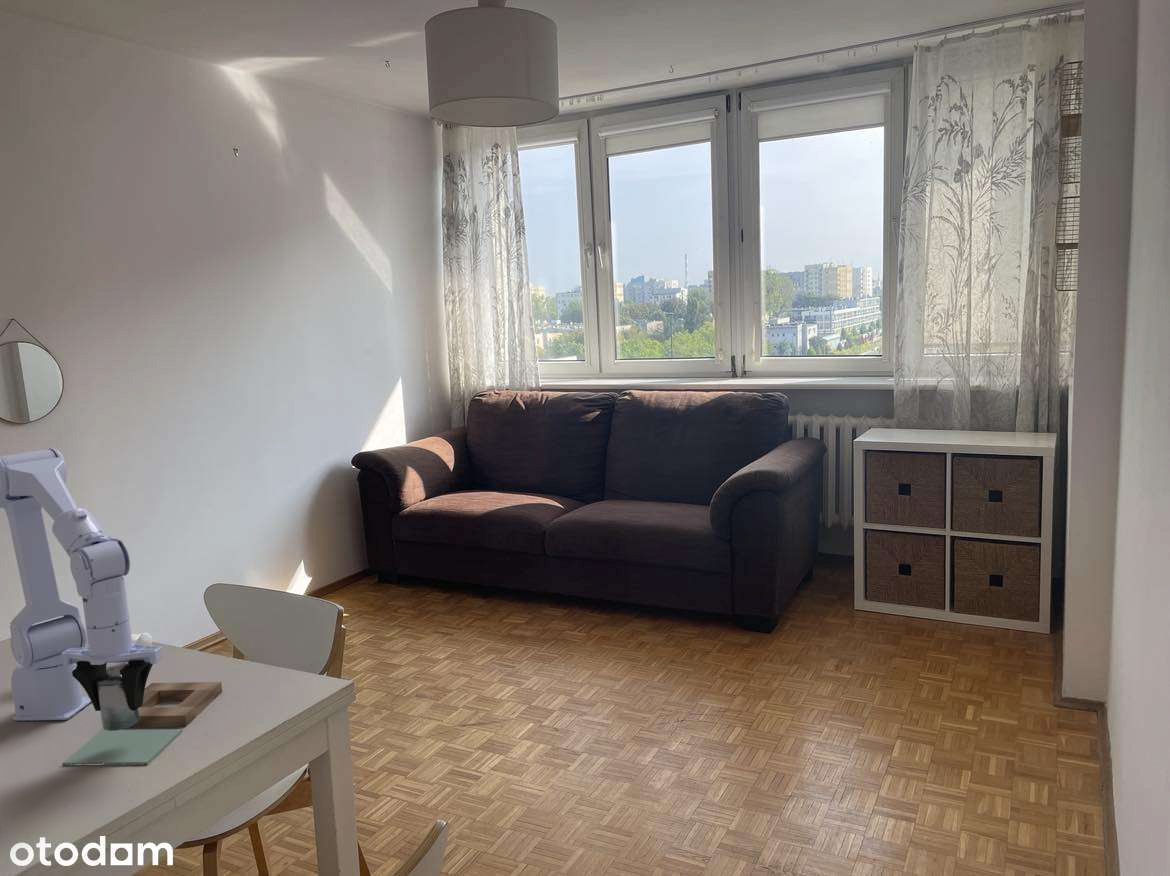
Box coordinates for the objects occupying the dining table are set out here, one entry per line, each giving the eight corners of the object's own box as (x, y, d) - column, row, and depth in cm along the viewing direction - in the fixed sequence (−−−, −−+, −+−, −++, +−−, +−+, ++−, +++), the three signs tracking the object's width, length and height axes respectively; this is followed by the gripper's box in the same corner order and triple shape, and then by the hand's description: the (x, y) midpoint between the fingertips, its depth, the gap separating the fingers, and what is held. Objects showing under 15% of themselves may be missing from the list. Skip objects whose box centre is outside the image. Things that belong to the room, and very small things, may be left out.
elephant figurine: (106, 669, 165) (102, 639, 164) (135, 652, 173) (131, 623, 172) (139, 671, 164) (135, 640, 163) (166, 653, 172) (163, 624, 171)
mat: (62, 765, 130) (62, 762, 130) (102, 732, 140) (102, 730, 140) (147, 764, 129) (147, 762, 129) (182, 731, 139) (182, 729, 139)
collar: (111, 726, 142) (109, 716, 141) (153, 692, 154) (151, 683, 154) (186, 726, 141) (185, 715, 141) (222, 691, 153) (221, 681, 153)
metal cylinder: (95, 730, 132) (88, 682, 130) (114, 715, 137) (108, 668, 135) (127, 730, 131) (121, 682, 130) (146, 714, 136) (140, 668, 135)
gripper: (43, 632, 128) (56, 720, 130) (139, 630, 127) (151, 719, 129) (73, 615, 135) (85, 699, 137) (165, 613, 134) (176, 697, 136)
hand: (119, 707), depth 134 cm, fingers closed on metal cylinder, 5 cm apart
